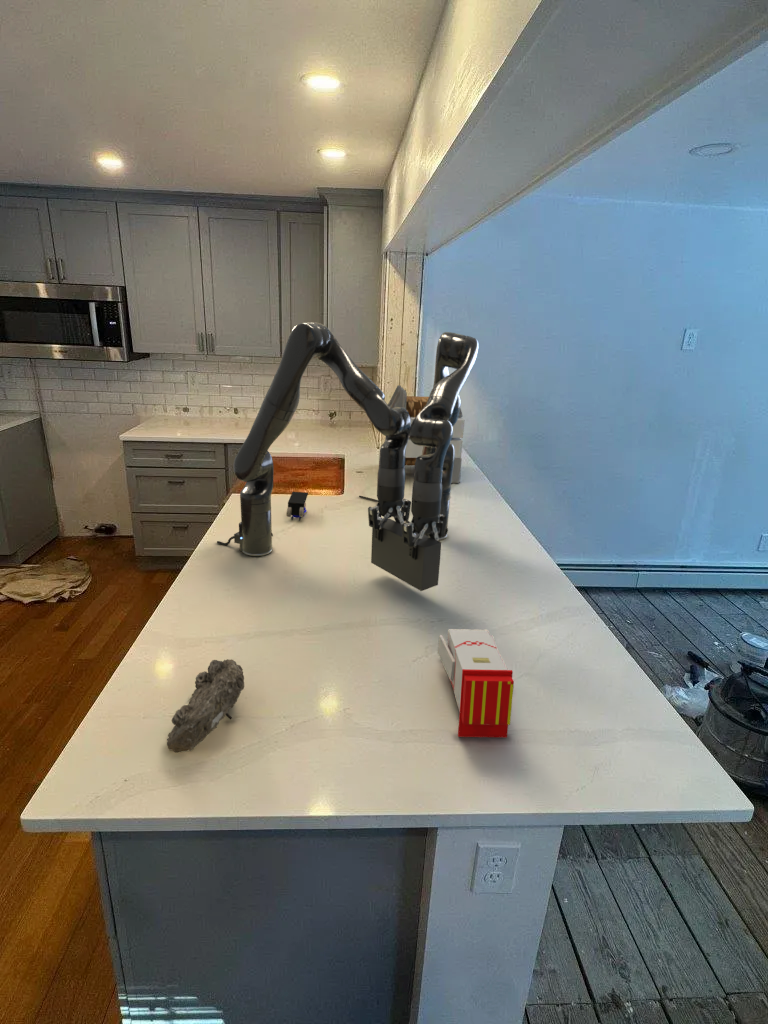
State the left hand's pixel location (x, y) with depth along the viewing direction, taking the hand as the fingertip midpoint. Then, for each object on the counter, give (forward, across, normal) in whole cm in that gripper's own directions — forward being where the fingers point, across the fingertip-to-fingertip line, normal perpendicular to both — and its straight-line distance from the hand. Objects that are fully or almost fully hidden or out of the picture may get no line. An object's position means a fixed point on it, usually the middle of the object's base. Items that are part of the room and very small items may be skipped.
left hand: (388, 538), depth 160 cm
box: (+8, 0, +7) cm, 11 cm away
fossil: (+14, +64, +25) cm, 70 cm away
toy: (+14, +18, +49) cm, 54 cm away
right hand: (0, 0, +14) cm, 14 cm away
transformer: (+14, -87, -79) cm, 119 cm away
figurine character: (+14, -7, -60) cm, 62 cm away
